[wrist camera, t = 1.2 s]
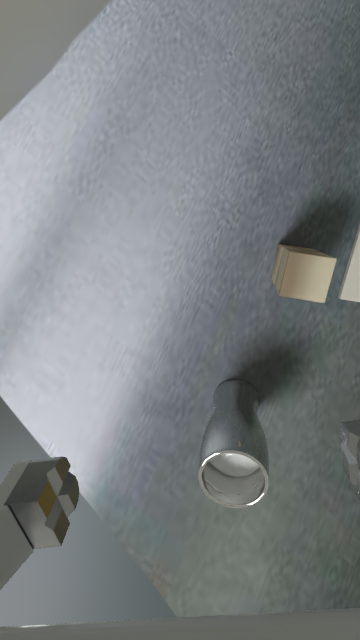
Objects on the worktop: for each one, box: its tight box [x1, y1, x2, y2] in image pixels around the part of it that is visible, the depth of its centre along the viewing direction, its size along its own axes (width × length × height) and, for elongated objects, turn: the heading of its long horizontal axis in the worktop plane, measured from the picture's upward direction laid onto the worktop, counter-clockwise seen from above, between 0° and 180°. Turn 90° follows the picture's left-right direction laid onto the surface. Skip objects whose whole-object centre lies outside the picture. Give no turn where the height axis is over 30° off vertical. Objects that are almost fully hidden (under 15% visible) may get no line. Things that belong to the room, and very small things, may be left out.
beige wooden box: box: [271, 244, 337, 303], centre depth 35 cm, size 4×4×10 cm
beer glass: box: [198, 380, 269, 508], centre depth 39 cm, size 7×7×15 cm
